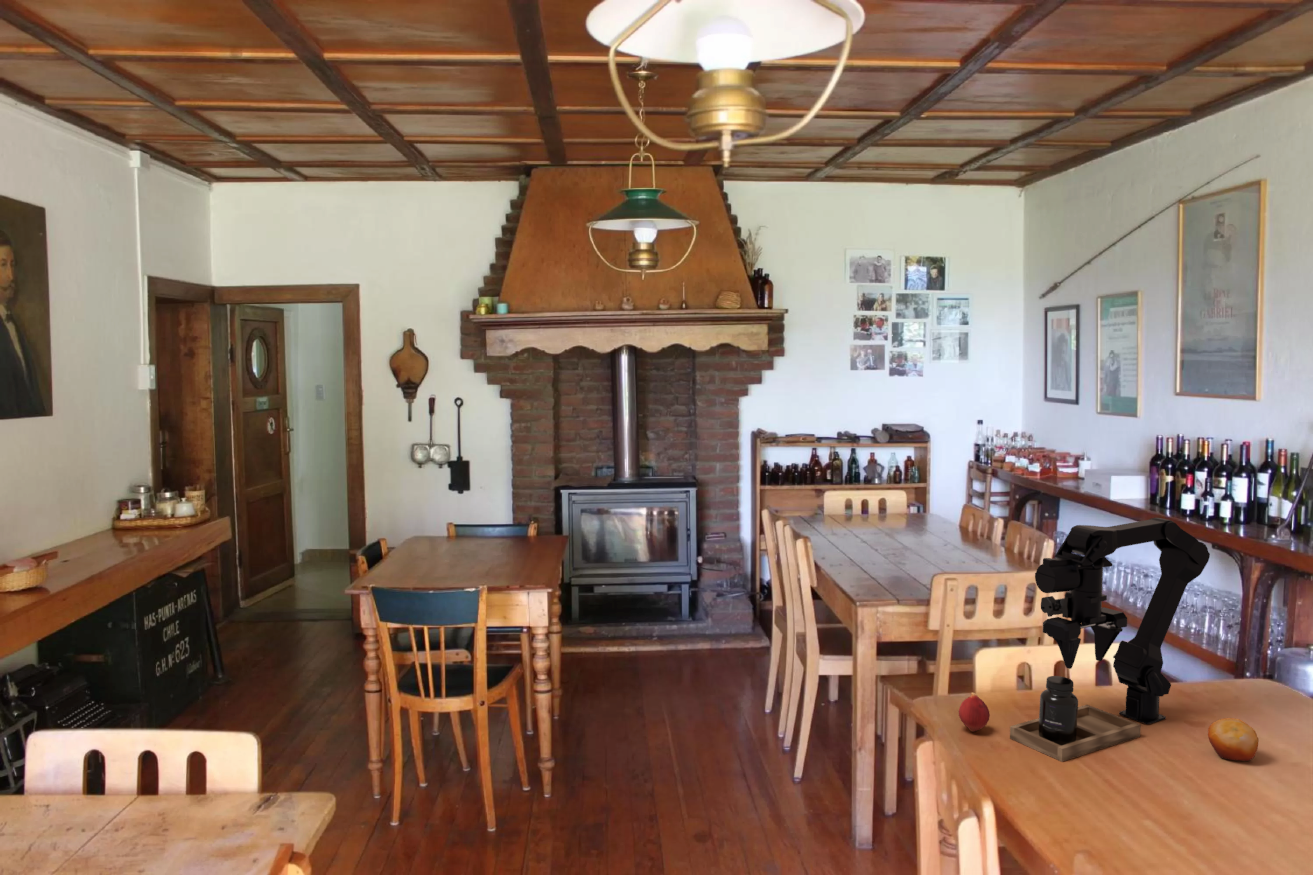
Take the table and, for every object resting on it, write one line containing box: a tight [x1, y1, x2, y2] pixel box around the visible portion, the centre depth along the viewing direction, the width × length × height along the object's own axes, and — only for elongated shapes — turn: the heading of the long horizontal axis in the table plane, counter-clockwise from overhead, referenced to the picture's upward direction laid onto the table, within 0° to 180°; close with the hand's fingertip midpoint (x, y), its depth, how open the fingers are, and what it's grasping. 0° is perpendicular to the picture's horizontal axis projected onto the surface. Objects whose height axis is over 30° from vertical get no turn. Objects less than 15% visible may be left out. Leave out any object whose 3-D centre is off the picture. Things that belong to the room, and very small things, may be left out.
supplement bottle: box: [1038, 675, 1079, 746], centre depth 179 cm, size 7×7×12 cm
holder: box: [1009, 704, 1142, 763], centre depth 182 cm, size 23×12×2 cm, turn 118°
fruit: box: [1207, 717, 1260, 762], centre depth 173 cm, size 8×8×8 cm
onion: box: [958, 692, 991, 732], centre depth 185 cm, size 6×6×8 cm
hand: (1083, 664), depth 186 cm, fingers open, 9 cm apart
